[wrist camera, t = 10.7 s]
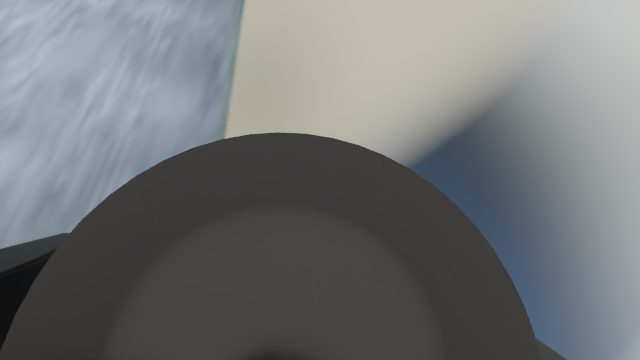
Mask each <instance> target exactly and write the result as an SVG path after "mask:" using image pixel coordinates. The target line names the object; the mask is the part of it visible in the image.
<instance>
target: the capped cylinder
mask: <svg viewBox="0 0 640 360" xmlns="http://www.w3.org/2000/svg"><path fill="white" fill-rule="evenodd" d="M0 360H541V358H540V354H539V350H538V345H537V341H536V338H535V335H534V332H533V330H532V327H531V324H530V321H529V318H528V316H527V313H526V310H525V307H524V305H523V303H522V301H521V299H520V296H519V295H518V292H517V290H516V288H515V286H514V284H513V282H512V280H511V278H510V276H509V274H508V273H507V271H506V269H505V268H504V266H503V265H502V263H501V261H500V259H499V258H498V256H497V254H496V253H495V251H494V250H493V248H492V247H491V246H490V244H489V243H488V242H487V240H486V239H485V238H484V236H483V235H482V234H481V232H480V231H479V230H478V229H477V227H476V226H475V225H474V224H473V223H472V222H471V221H470V219H469V218H468V217H467V216H466V215H465V214H464V213H463V212H462V211H461V210H460V209H459V208H458V207H457V206H456V205H455V204H454V203H453V202H452V201H451V200H450V199H449V198H447V197H446V196H445V195H444V194H443V193H441V192H440V191H439V190H438V189H437V188H436V187H434V186H433V185H432V184H431V183H429V182H428V181H426V180H425V179H423V178H422V177H420V176H419V175H418V174H416V173H414V172H413V171H412V170H410V169H409V168H407V167H405V166H403V165H401V164H399V163H397V162H395V161H394V160H392V159H390V158H388V157H386V156H384V155H382V154H379V153H377V152H374V151H371V150H369V149H367V148H364V147H361V146H359V145H355V144H352V143H348V142H344V141H341V140H337V139H334V138H328V137H322V136H316V135H309V134H297V133H265V134H250V135H244V136H239V137H233V138H228V139H222V140H218V141H215V142H212V143H208V144H205V145H202V146H198V147H195V148H192V149H190V150H187V151H185V152H183V153H180V154H178V155H175V156H173V157H171V158H168V159H166V160H164V161H162V162H160V163H158V164H157V165H155V166H153V167H151V168H150V169H148V170H146V171H144V172H142V173H141V174H139V175H137V176H136V177H134V178H133V179H131V180H130V181H129V182H127V183H126V184H124V185H123V186H122V187H120V188H119V189H117V190H116V191H115V192H113V193H112V194H110V195H109V196H108V197H107V198H106V199H105V200H103V201H102V202H101V203H100V204H99V205H98V206H97V207H96V208H95V209H93V210H92V211H91V212H90V213H89V214H88V215H87V216H86V217H85V218H83V219H82V221H81V222H80V223H79V224H78V225H77V226H76V227H75V228H74V230H73V231H72V232H71V233H70V234H69V235H68V236H67V237H66V238H65V240H64V241H63V242H62V243H61V244H60V245H59V246H58V248H57V249H56V250H55V252H54V253H53V255H52V256H51V257H50V259H49V260H48V262H47V263H46V264H45V266H44V267H43V269H42V270H41V271H40V273H39V274H38V276H37V277H36V279H35V280H34V282H33V284H32V286H31V287H30V289H29V291H28V293H27V295H26V296H25V298H24V300H23V302H22V304H21V305H20V307H19V309H18V311H17V313H16V315H15V317H14V319H13V322H12V324H11V327H10V329H9V331H8V334H7V336H6V339H5V341H4V343H3V346H2V348H1V351H0Z"/></svg>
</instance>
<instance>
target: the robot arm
mask: <svg viewBox="0 0 640 360" xmlns="http://www.w3.org/2000/svg"><path fill="white" fill-rule="evenodd" d="M69 234H70V233H62V234H58V235H54V236H50V237H46V238H42V239H38V240H34V241H30V242H26V243H22V244H18V245H14V246H10V247H6V248H2V249H0V351H1V348H2V346H3V343H4V341H5V339H6V336H7V334H8V331H9V329H10V327H11V324H12V322H13V319H14V317H15V315H16V313H17V311H18V309H19V307H20V305H21V304H22V302H23V300H24V298H25V296H26V295H27V293H28V291H29V289H30V287H31V286H32V284H33V282H34V280H35V279H36V277H37V276H38V274H39V273H40V271H41V270H42V269H43V267H44V266H45V264H46V263H47V262H48V260H49V259H50V257H51V256H52V255H53V253H54V252H55V250H56V249H57V248H58V246H59V245H60V244H61V243H62V242H63V241H64V240H65V238H66V237H67V236H68V235H69ZM535 338H536V337H535ZM536 341H537V345H538V350H539V354H540V358H541V360H566V359H565V358H563V357H562V356H561V355H559V354H558V353H557V352H555V351H554V350H552V349H551V348H550V347H548V346H547V345H545V344H544V343H543V342H541V341H540V340H539V339H537V338H536Z"/></svg>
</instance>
